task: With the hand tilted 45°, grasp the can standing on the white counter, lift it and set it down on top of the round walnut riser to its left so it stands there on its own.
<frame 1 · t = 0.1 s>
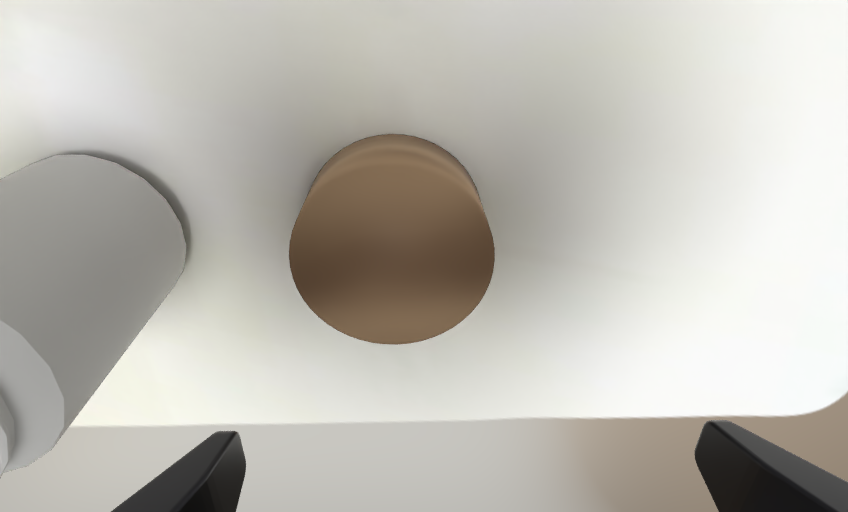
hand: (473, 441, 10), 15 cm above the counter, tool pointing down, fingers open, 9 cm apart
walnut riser: (394, 220, 24), on the counter
can: (111, 226, 23), on the counter
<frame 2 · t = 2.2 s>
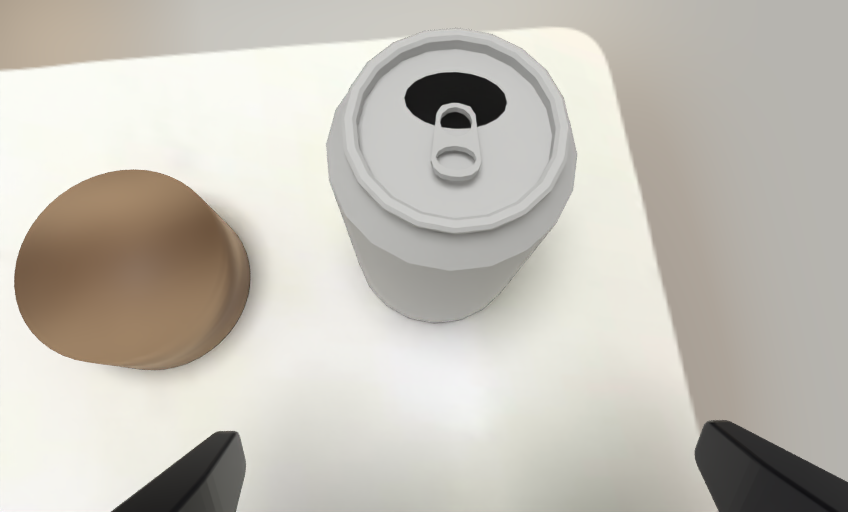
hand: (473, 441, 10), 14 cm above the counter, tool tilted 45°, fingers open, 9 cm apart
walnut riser: (164, 283, 24), on the counter
can: (435, 250, 25), on the counter
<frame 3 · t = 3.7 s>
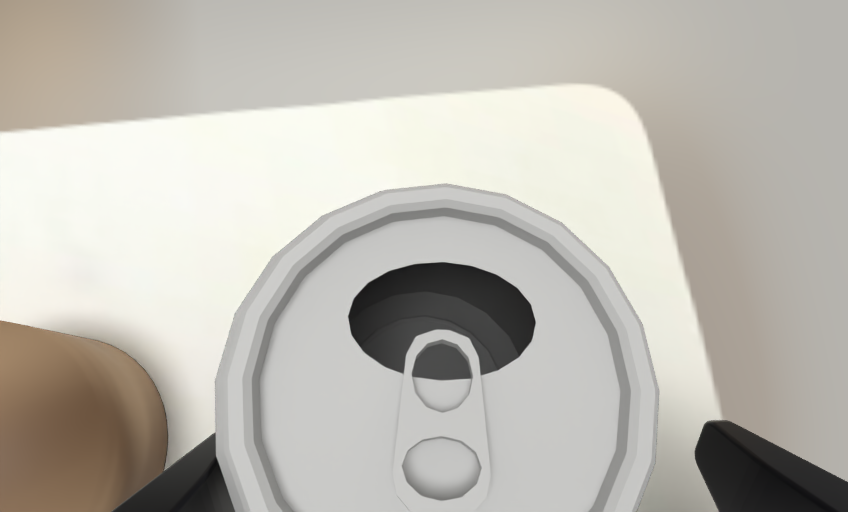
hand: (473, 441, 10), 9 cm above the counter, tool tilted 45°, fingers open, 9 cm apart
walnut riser: (48, 453, 18), on the counter
can: (422, 398, 19), on the counter
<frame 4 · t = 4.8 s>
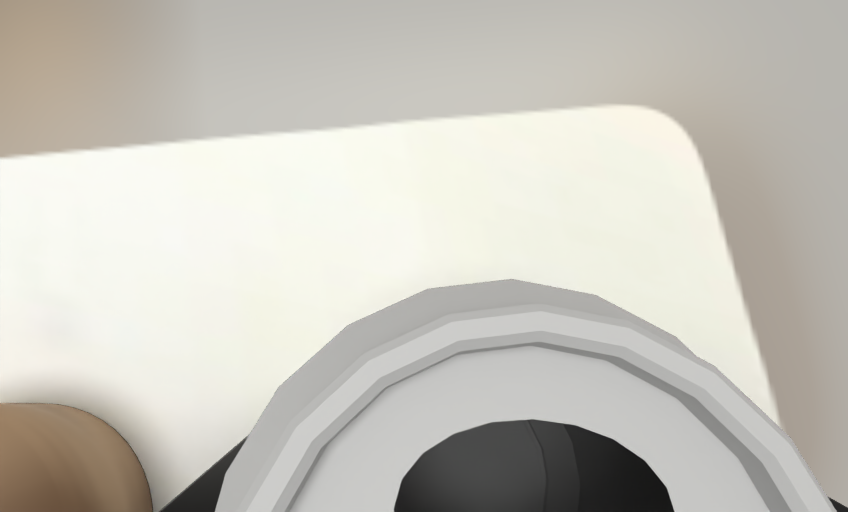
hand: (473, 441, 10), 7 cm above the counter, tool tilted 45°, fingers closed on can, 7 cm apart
can: (450, 475, 16), on the counter, touching gripper
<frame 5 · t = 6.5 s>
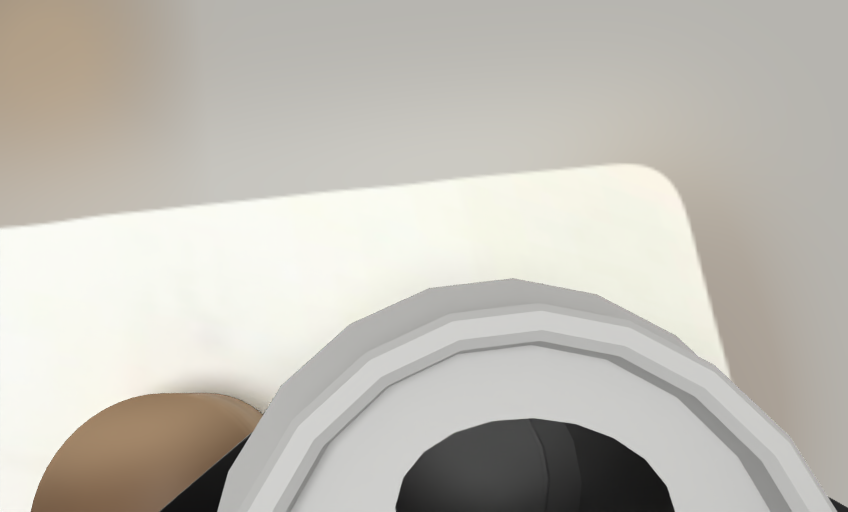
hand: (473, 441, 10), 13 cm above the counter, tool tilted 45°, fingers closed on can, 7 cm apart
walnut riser: (195, 491, 21), on the counter
can: (452, 474, 16), point 6 cm above the counter, touching gripper
when the fingers open (11 cm above the counter, at t = 8.2 s): can stays where it is, resting on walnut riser.
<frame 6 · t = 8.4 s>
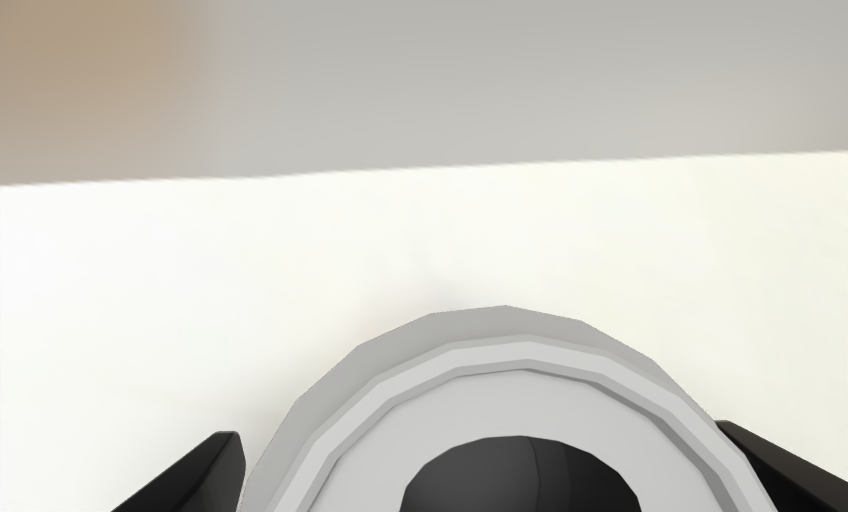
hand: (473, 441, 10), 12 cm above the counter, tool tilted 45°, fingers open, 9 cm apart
can: (447, 476, 17), point 4 cm above the counter, touching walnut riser
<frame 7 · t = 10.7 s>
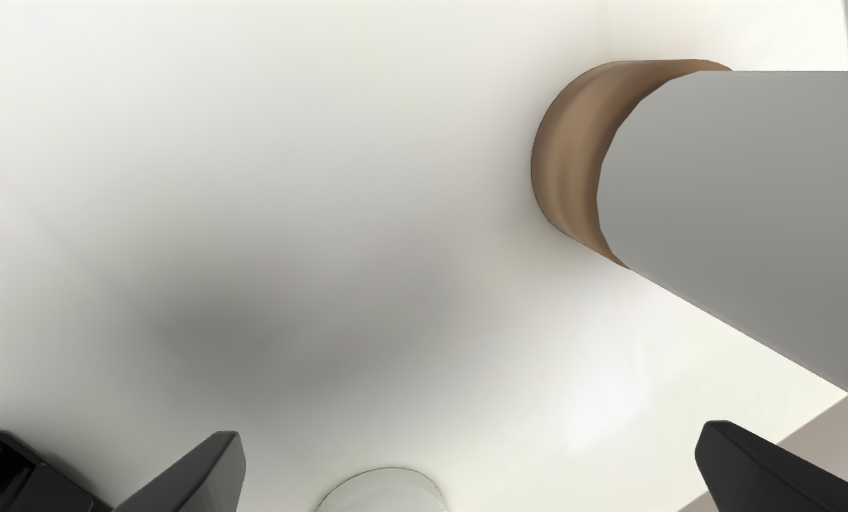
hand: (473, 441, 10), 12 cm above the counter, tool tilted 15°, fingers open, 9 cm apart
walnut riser: (613, 156, 23), on the counter
can: (668, 175, 19), point 4 cm above the counter, touching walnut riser
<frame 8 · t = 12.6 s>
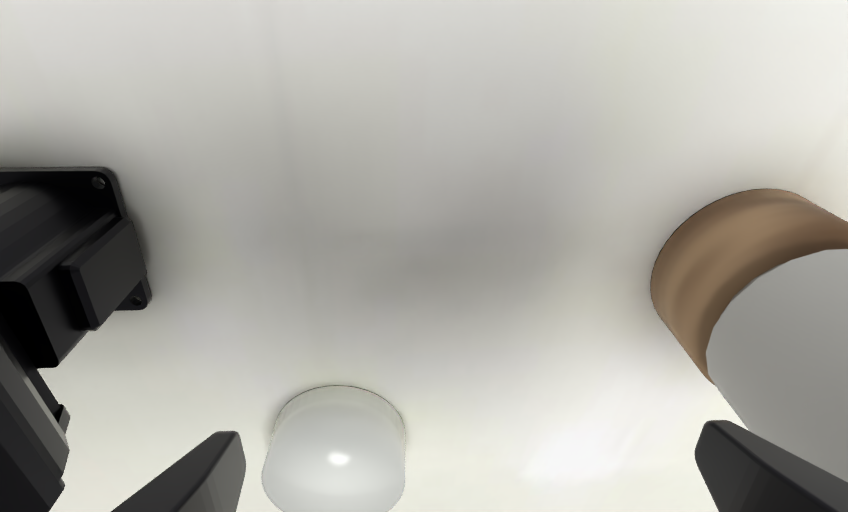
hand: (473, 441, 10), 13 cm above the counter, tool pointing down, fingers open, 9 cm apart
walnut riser: (738, 270, 24), on the counter
can: (787, 318, 20), point 4 cm above the counter, touching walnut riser
white domed puck: (340, 434, 28), on the counter
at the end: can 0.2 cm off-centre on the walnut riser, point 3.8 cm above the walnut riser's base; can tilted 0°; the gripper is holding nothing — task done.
